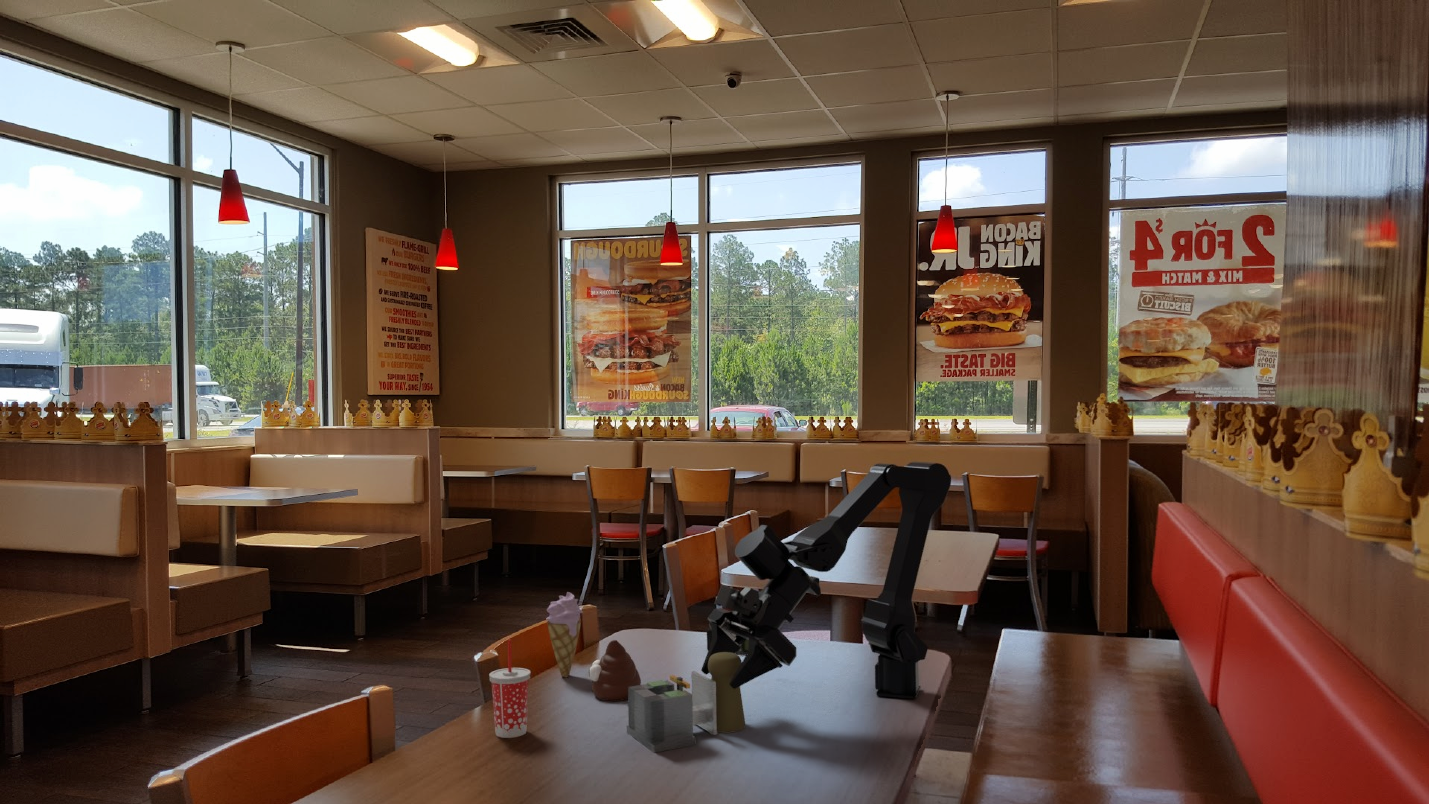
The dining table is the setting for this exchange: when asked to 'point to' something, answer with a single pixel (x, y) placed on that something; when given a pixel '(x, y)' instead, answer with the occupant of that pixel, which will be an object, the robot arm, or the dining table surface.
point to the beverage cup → (510, 699)
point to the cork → (727, 692)
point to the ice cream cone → (564, 630)
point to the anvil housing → (660, 716)
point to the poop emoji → (614, 674)
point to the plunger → (701, 700)
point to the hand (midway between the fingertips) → (717, 679)
